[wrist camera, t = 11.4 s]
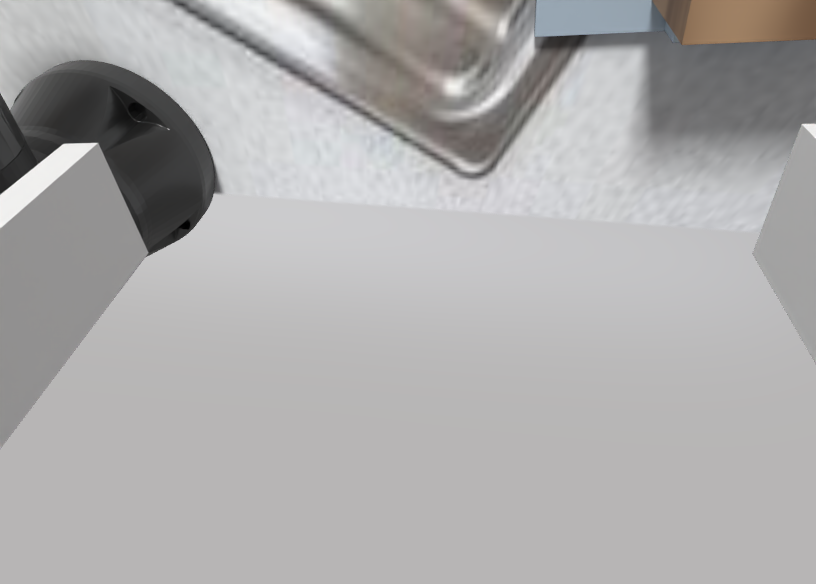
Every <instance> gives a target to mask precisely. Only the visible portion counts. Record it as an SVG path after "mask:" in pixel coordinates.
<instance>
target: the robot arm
mask: <svg viewBox="0 0 816 584" xmlns="http://www.w3.org/2000/svg"><path fill="white" fill-rule="evenodd" d="M214 186H215V177H214V168H213V163H212V160H211V156H210V153H209V151H208V148H207V146H206V144H205V141H204V139H203V138H202V136H201V134H200V132H199V131H198V129H197V127H196V126H195V125H194V123H193V122H192V120H191V119H190V118H189V116H188V115H187V114H186V113H185V112H184V111H183V109H182V108H181V107H180V106H179V105H178V104H177V103H176V102H175V101H174V100H173V99H172V98H171V97H169V96H168V95H167V94H166V93H165V92H163V91H162V90H161V89H159V88H158V87H157V86H155V85H154V84H152V83H151V82H149V81H148V80H146V79H144V78H143V77H141V76H139V75H137V74H135V73H133V72H131V71H129V70H126V69H124V68H121V67H118V66H115V65H112V64H108V63H104V62H98V61H72V62H67V63H63V64H60V65H58V66H55V67H53V68H52V69H50V70H48V71H46V72H45V73H43V74H41V75H40V76H38V77H36V78H35V79H33V80H32V81H31V82H29V83H28V84H27V85H26V86H25V87H24V88H23V89H22V90H21V92H20V93H19V94H18V96H17V98H16V99H15V102H14V104H13V106H12V108H11V110H9V108H8V106H7V105H6V103H5V101H4V99H3V97H2V96H1V94H0V449H1V448H2V446H3V445H4V443H5V442H6V441H7V440H8V438H9V437H10V435H11V434H12V433H13V432H14V430H15V429H16V428H17V426H18V425H19V424H20V422H21V421H22V420H23V418H24V417H25V416H26V414H27V413H28V412H29V410H30V409H31V408H32V406H33V405H34V404H35V403H36V401H37V400H38V399H39V397H40V396H41V395H42V393H43V392H44V391H45V389H46V388H47V387H48V385H49V384H50V383H51V381H52V380H53V379H54V377H55V376H56V375H57V373H58V372H59V371H60V369H61V368H62V367H63V365H64V364H65V363H66V361H67V360H68V359H69V358H70V356H71V355H72V353H73V352H74V351H75V350H76V348H77V347H78V346H79V344H80V343H81V342H82V340H83V339H84V338H85V336H86V335H87V334H88V332H89V331H90V330H91V328H92V327H93V325H94V324H95V323H96V322H97V320H98V319H99V318H100V316H101V315H102V314H103V312H104V311H105V310H106V308H107V307H108V306H109V304H110V303H111V302H112V301H113V299H114V298H115V297H116V295H117V294H118V293H119V291H120V290H121V289H122V287H123V286H124V284H125V283H126V282H127V281H128V279H129V278H130V277H131V275H132V274H133V273H134V271H135V270H136V269H137V267H138V266H139V265H140V263H141V262H142V261H143V259H144V258H145V257H147V256H149V255H151V254H153V253H155V252H157V251H158V250H160V249H162V248H164V247H166V246H168V245H170V244H172V243H174V242H176V241H177V240H179V239H181V238H183V237H184V236H185V235H186V234H188V233H189V232H190V231H191V230H192V229H193V228H194V227H195V226H196V224H197V223H198V222H199V220H200V219H201V218H202V216H203V215H204V214H205V212H206V211H207V209H208V207H209V205H210V203H211V201H212V197H213V193H214ZM753 256H754V257H755V259H756V261H757V263H758V264H759V266H760V268H761V269H762V271H763V273H764V275H765V276H766V278H767V280H768V282H769V283H770V285H771V287H772V289H773V290H774V292H775V294H776V296H777V297H778V299H779V301H780V302H781V304H782V306H783V308H784V310H785V311H786V313H787V315H788V316H789V318H790V320H791V322H792V323H793V325H794V327H795V329H796V330H797V332H798V334H799V336H800V337H801V339H802V341H803V342H804V344H805V346H806V348H807V350H808V351H809V353H810V355H811V356H812V358H813V360H814V362H815V363H816V124H801V127H800V130H799V132H798V135H797V138H796V140H795V143H794V145H793V148H792V151H791V153H790V156H789V159H788V161H787V164H786V166H785V169H784V172H783V174H782V177H781V180H780V182H779V185H778V188H777V190H776V193H775V195H774V198H773V201H772V203H771V206H770V209H769V211H768V214H767V216H766V219H765V222H764V224H763V227H762V230H761V232H760V235H759V238H758V240H757V243H756V245H755V248H754V251H753Z"/></svg>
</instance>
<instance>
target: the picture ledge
mask: <svg viewBox="0 0 816 584" xmlns="http://www.w3.org/2000/svg"><path fill="white" fill-rule="evenodd" d="M653 31H665V32H666V33H667V35H668V36H669V38H670V39H671V41H672V43H680V42H679V40H678V39H677V37H676V36H675V34H674V33H673V31H672V30H671V28H670V27H669V25H668V24H667V22H666V21H665V19H664V18H663V16H662V15H661V13H660V12H659V10H658V9H657V7H656V6H655V4H654V3H653V1H652V0H536V10H535V29H534V34H535V37H543V36H565V35H587V34H609V33H631V32H653Z"/></svg>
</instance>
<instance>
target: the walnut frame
mask: <svg viewBox="0 0 816 584" xmlns="http://www.w3.org/2000/svg"><path fill="white" fill-rule="evenodd" d="M652 1H653V3H654V4H655V6H656V7H657V9H658V10H659V12H660V13H661V15H662V16H663V18H664V19H665V21H666V22H667V24H668V25H669V27H670V28H671V30H672V31H673V33H674V34H675V36H676V37H677V39H678V40H679V42H680V43H681V44H682V45H693V44H717V43H741V42H765V41H789V40H814V39H816V0H652Z"/></svg>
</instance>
